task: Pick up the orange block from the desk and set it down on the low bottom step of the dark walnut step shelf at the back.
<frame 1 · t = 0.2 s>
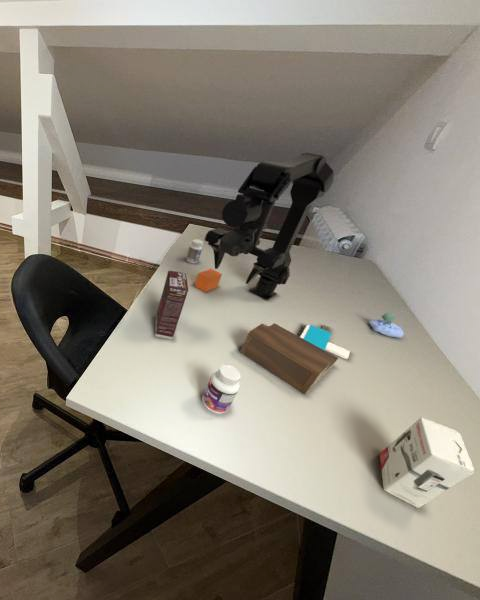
hand: (231, 275, 83), 14 cm above the table, tool pointing down, fingers open, 9 cm apart
step shelf: (283, 360, 78), on the table
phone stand: (321, 345, 85), on the table
ink box: (396, 479, 55), on the table
supplement box: (163, 329, 86), on the table
figurine: (384, 331, 93), on the table
pill bottle: (214, 404, 66), on the table
orange block: (205, 286, 107), on the table
pill bottle 2: (191, 261, 123), on the table
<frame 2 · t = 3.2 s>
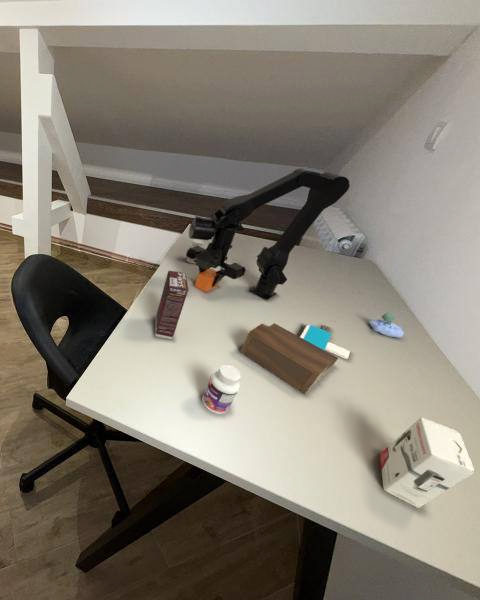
hand: (206, 283, 106), 1 cm above the table, tool pointing down, fingers closed on orange block, 4 cm apart
orange block: (206, 286, 107), on the table, touching gripper
everything else where it was.
when the fingers open (4 cm above the table, at t = 9.0 s): orange block stays where it is, resting on step shelf.
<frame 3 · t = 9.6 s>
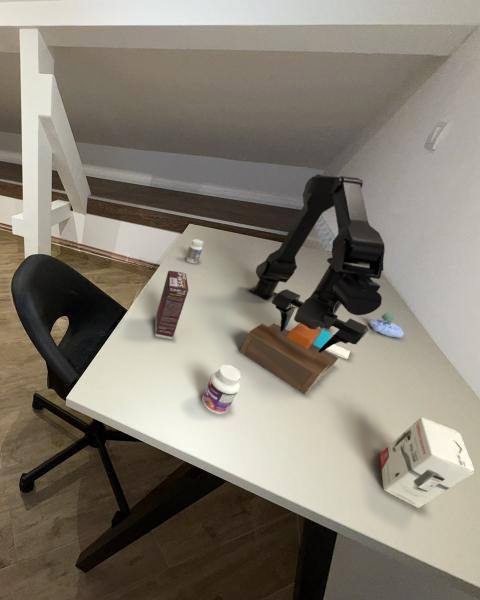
hand: (300, 341, 79), 4 cm above the table, tool pointing down, fingers open, 9 cm apart
orange block: (297, 344, 79), point 3 cm above the table, touching step shelf
everything else where it was.
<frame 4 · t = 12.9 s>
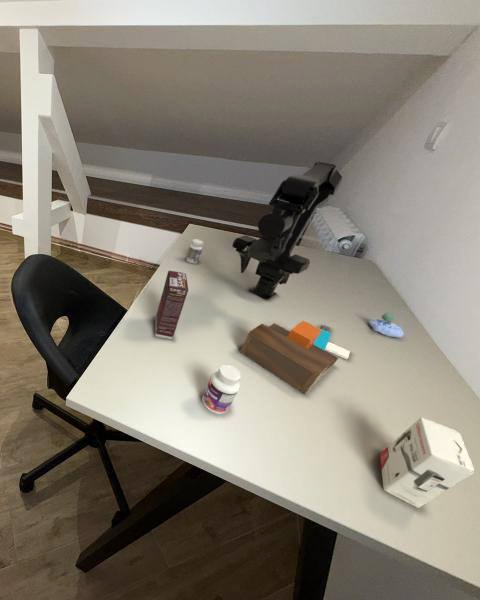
hand: (256, 279, 90), 11 cm above the table, tool pointing down, fingers open, 9 cm apart
nothing on the table moved.
at the end: orange block inside the target area on the step shelf (0.1 cm from its centre), point 3.0 cm above the step shelf's base; orange block tilted 0°; the gripper is holding nothing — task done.
